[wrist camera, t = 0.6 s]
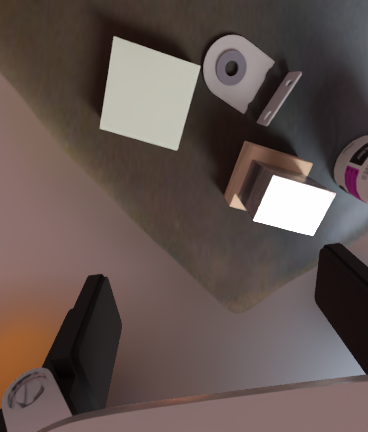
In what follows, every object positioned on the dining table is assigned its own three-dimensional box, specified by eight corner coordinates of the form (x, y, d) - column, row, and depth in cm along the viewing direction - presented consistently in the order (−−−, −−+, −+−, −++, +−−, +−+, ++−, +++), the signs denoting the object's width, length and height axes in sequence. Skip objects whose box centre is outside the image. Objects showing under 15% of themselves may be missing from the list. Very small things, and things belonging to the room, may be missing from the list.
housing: (303, 174, 32) (336, 193, 26) (286, 209, 34) (312, 235, 28) (252, 159, 31) (273, 175, 25) (237, 196, 33) (253, 220, 27)
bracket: (221, 23, 29) (228, 14, 26) (290, 74, 32) (303, 72, 29) (192, 80, 31) (194, 78, 28) (258, 123, 34) (267, 126, 31)
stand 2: (298, 157, 36) (313, 164, 32) (274, 209, 39) (284, 220, 35) (244, 140, 34) (253, 145, 31) (223, 195, 37) (229, 206, 34)
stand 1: (197, 69, 31) (200, 66, 27) (176, 144, 34) (177, 150, 30) (120, 43, 29) (113, 36, 25) (107, 125, 33) (99, 128, 29)
